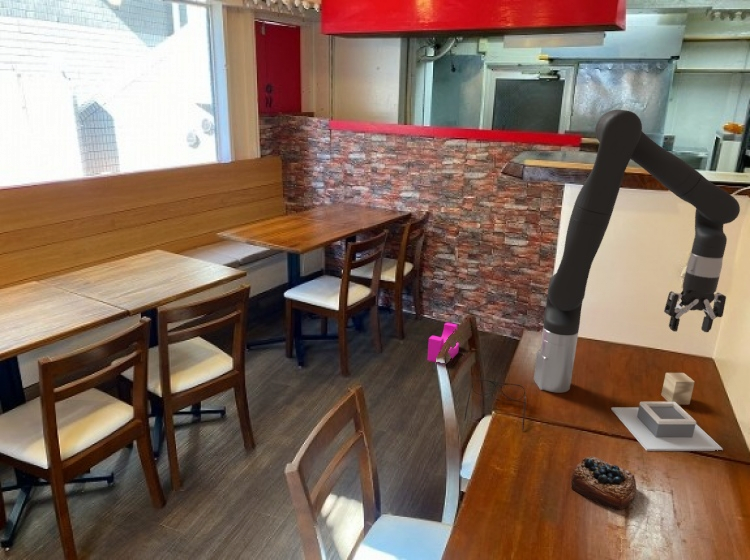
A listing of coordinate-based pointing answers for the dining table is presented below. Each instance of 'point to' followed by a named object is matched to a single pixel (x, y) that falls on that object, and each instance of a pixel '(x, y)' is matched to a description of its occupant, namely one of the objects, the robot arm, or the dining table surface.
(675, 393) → the maple block
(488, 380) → the glasses
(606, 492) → the pastry
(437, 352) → the toy block
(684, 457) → the dining table surface
